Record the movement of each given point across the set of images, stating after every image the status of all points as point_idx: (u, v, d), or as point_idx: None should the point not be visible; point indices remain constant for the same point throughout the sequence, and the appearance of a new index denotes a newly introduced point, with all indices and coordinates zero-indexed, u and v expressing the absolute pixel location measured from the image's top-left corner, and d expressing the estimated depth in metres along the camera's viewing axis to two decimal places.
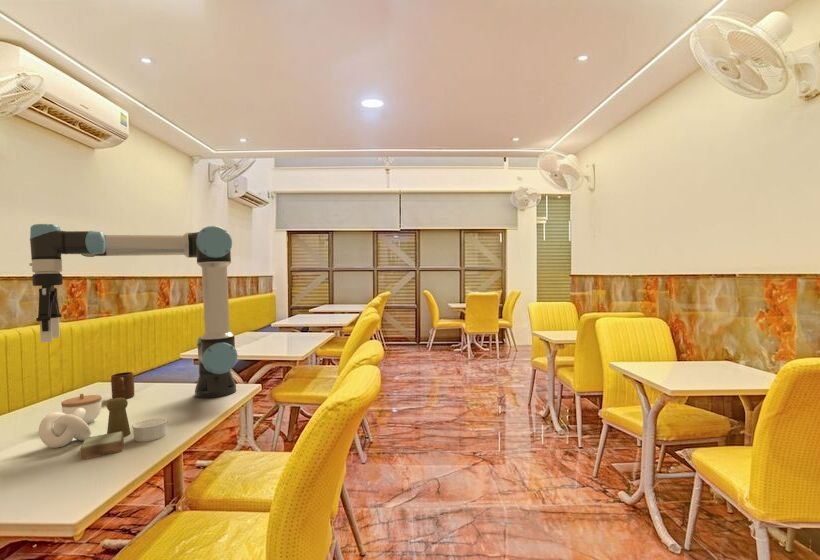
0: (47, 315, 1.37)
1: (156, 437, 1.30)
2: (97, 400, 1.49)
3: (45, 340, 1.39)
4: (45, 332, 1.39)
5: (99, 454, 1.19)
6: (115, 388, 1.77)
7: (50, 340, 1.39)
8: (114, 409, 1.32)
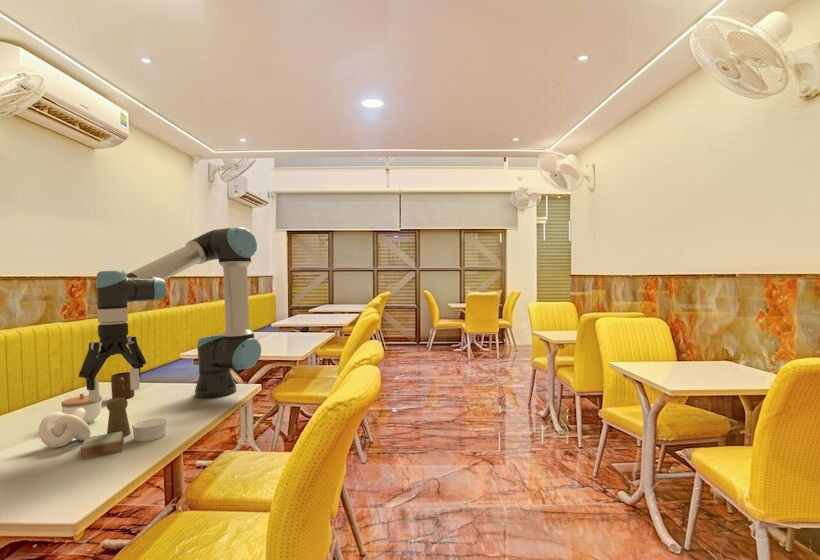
0: (85, 374, 1.25)
1: (156, 437, 1.30)
2: None
3: (92, 399, 1.28)
4: (92, 390, 1.28)
5: (99, 454, 1.19)
6: (115, 388, 1.77)
7: (95, 400, 1.27)
8: (114, 409, 1.32)
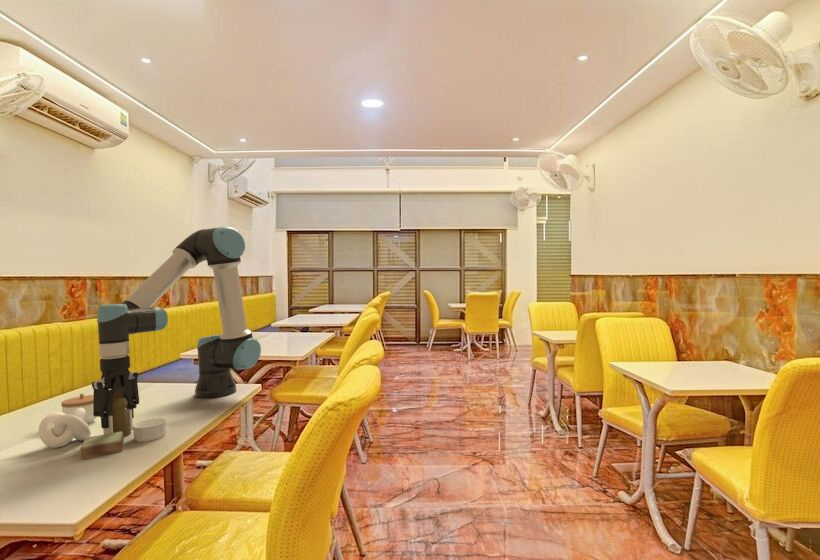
0: (99, 414, 1.28)
1: (156, 437, 1.30)
2: None
3: None
4: (106, 428, 1.31)
5: (99, 454, 1.19)
6: None
7: None
8: (114, 409, 1.32)
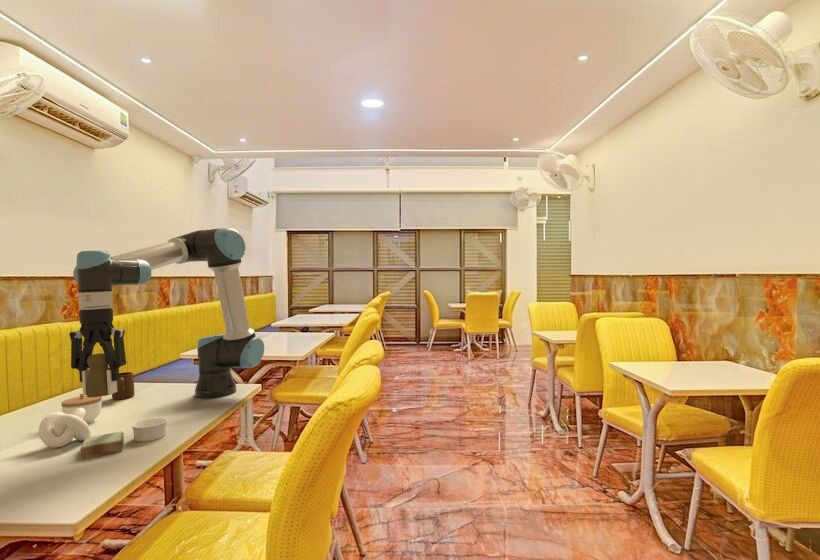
0: (125, 362, 1.24)
1: (156, 437, 1.30)
2: (97, 400, 1.49)
3: (113, 391, 1.23)
4: (113, 382, 1.23)
5: (99, 454, 1.19)
6: None
7: (116, 391, 1.24)
8: None
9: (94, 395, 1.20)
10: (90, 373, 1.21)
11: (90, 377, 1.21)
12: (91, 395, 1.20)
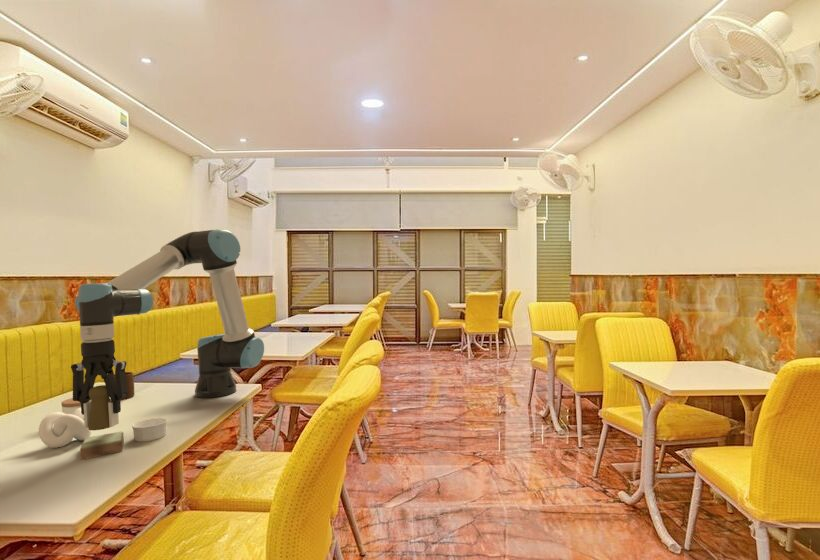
0: (126, 394, 1.24)
1: (156, 437, 1.30)
2: None
3: (114, 423, 1.23)
4: (114, 414, 1.23)
5: (99, 454, 1.19)
6: None
7: (117, 423, 1.24)
8: None
9: (96, 428, 1.20)
10: (92, 406, 1.21)
11: (92, 410, 1.21)
12: (93, 428, 1.20)
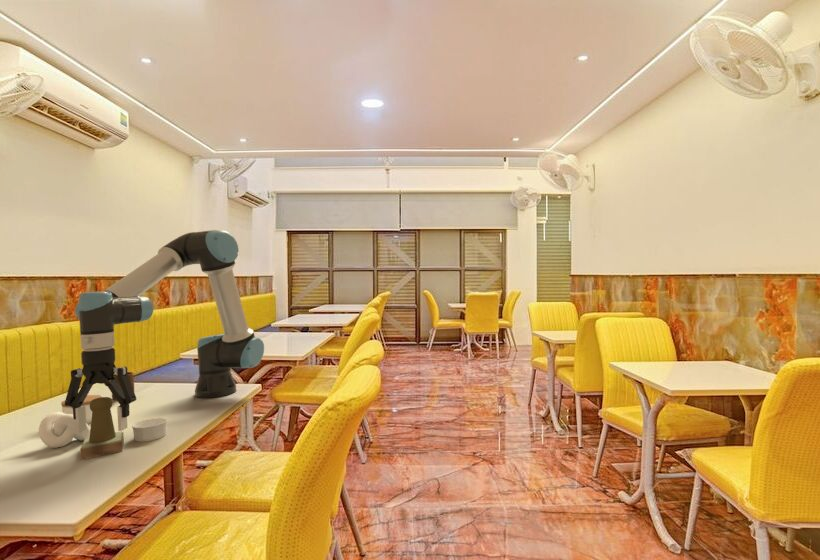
0: (135, 397, 1.24)
1: (156, 437, 1.30)
2: None
3: (123, 427, 1.23)
4: (123, 418, 1.23)
5: (99, 454, 1.19)
6: None
7: (126, 427, 1.24)
8: None
9: (96, 440, 1.21)
10: (92, 418, 1.22)
11: (92, 422, 1.21)
12: (93, 440, 1.21)
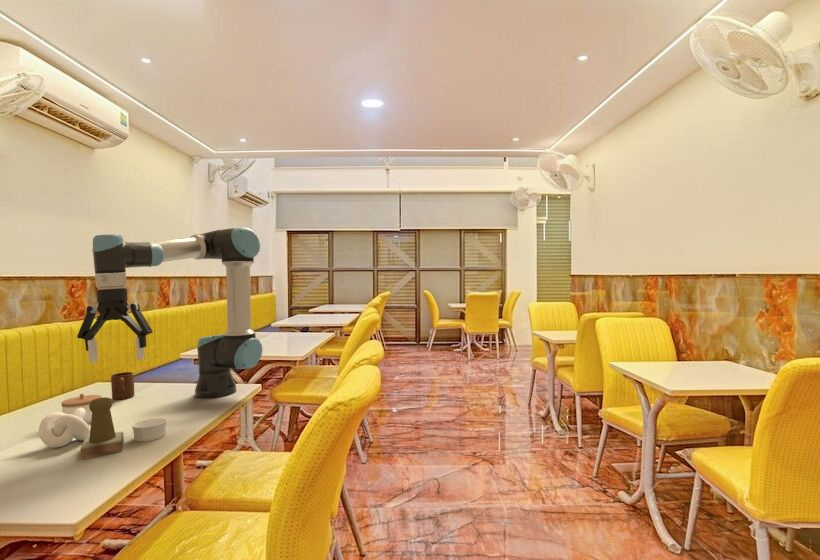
0: (151, 330, 1.34)
1: (156, 437, 1.30)
2: None
3: (141, 357, 1.33)
4: (141, 348, 1.33)
5: (99, 454, 1.19)
6: (115, 388, 1.77)
7: (143, 357, 1.34)
8: (111, 406, 1.25)
9: (96, 440, 1.21)
10: (92, 418, 1.21)
11: (92, 422, 1.21)
12: (93, 440, 1.21)
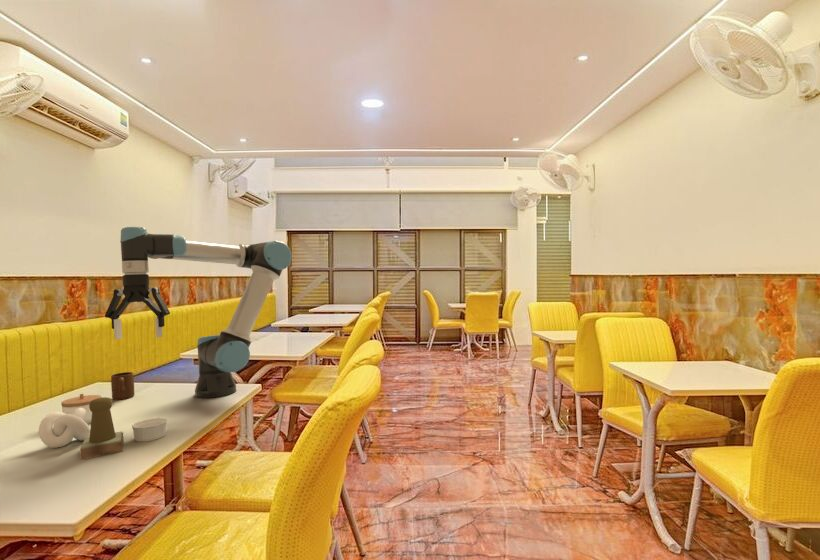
0: (168, 311, 1.52)
1: (156, 437, 1.30)
2: None
3: (160, 335, 1.51)
4: (159, 328, 1.51)
5: (99, 454, 1.19)
6: (115, 388, 1.77)
7: (161, 335, 1.52)
8: (111, 406, 1.25)
9: (96, 440, 1.21)
10: (92, 418, 1.21)
11: (92, 422, 1.21)
12: (93, 440, 1.21)
